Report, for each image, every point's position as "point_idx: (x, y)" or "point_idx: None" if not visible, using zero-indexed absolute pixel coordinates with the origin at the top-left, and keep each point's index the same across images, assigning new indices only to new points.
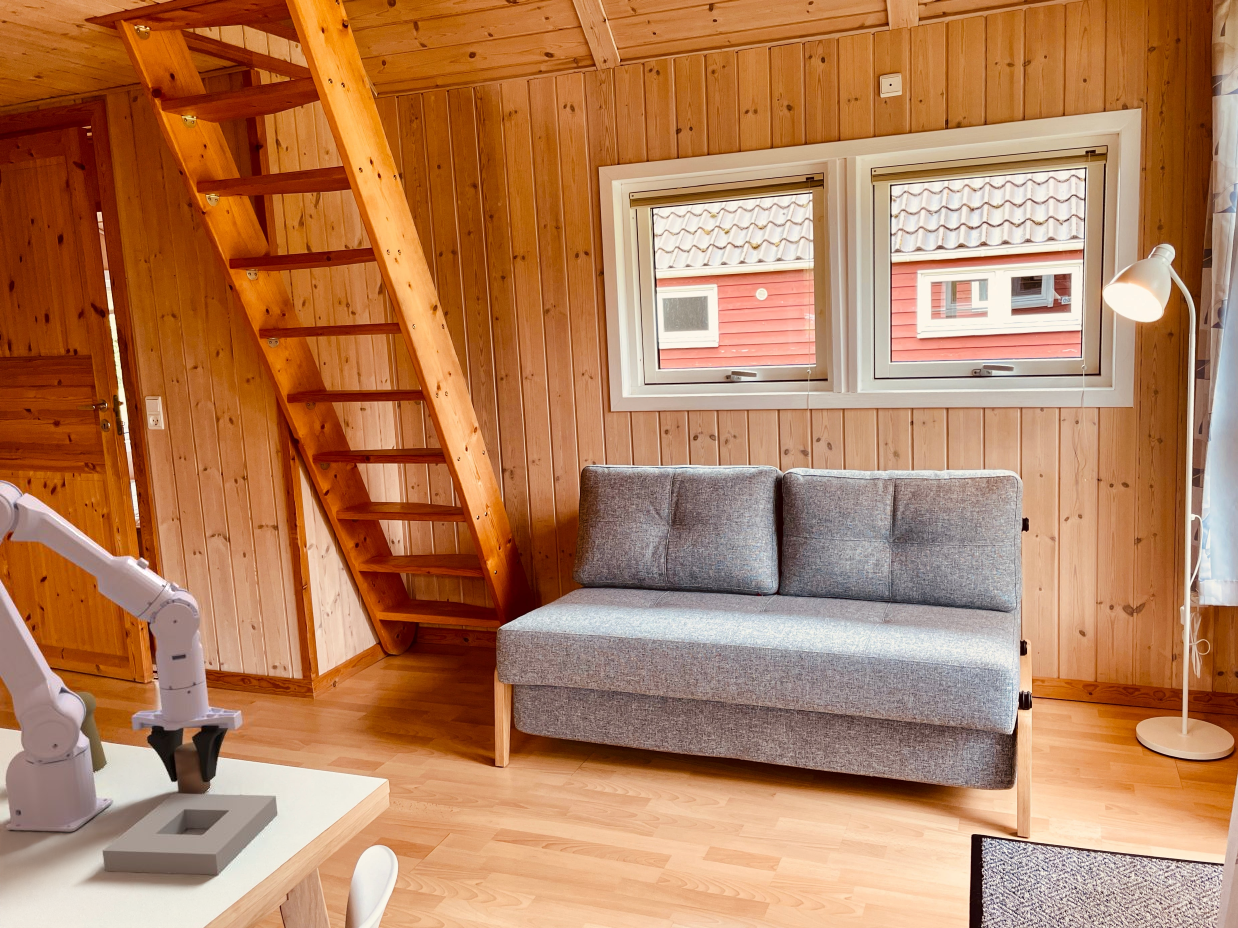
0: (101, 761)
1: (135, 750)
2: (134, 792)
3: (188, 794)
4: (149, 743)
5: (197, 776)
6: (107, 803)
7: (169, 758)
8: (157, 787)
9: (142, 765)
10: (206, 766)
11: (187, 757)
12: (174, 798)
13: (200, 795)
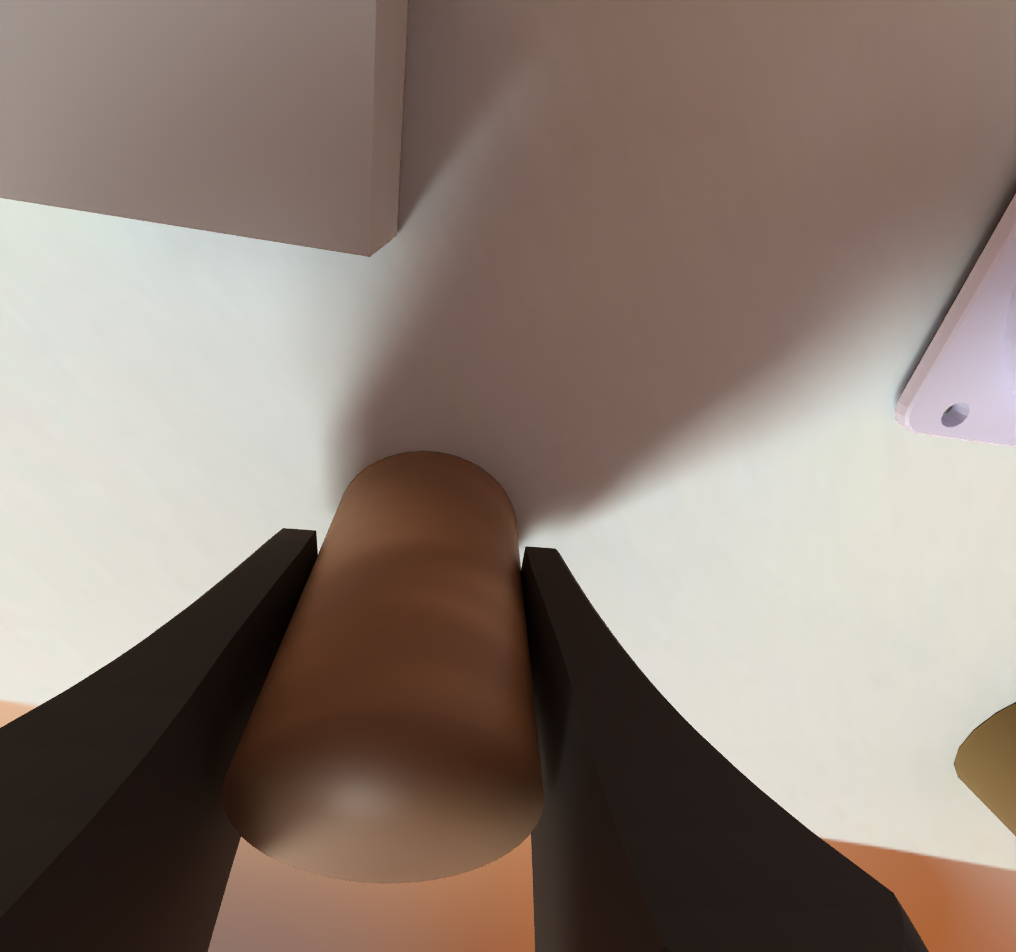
0: (996, 766)
1: (850, 830)
2: (781, 530)
3: (185, 212)
4: (855, 876)
5: (332, 550)
6: (936, 364)
7: (567, 687)
8: (666, 572)
9: (799, 746)
10: (195, 602)
11: (339, 677)
12: (282, 111)
13: (10, 161)
